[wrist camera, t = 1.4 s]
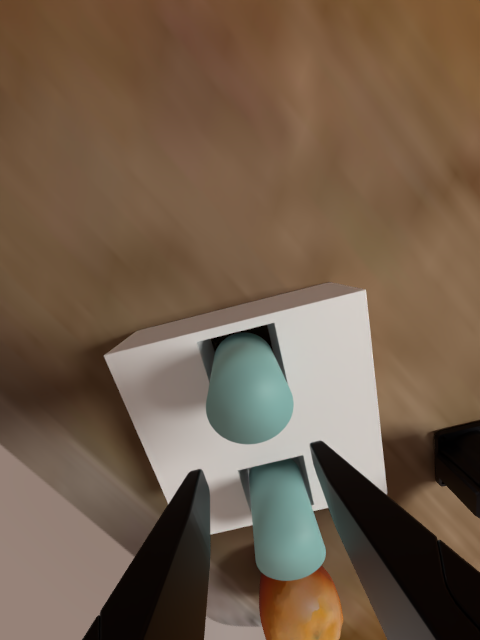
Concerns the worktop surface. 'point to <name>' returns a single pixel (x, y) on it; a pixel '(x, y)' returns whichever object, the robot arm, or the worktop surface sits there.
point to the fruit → (300, 608)
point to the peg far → (284, 522)
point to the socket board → (300, 374)
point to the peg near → (247, 391)
